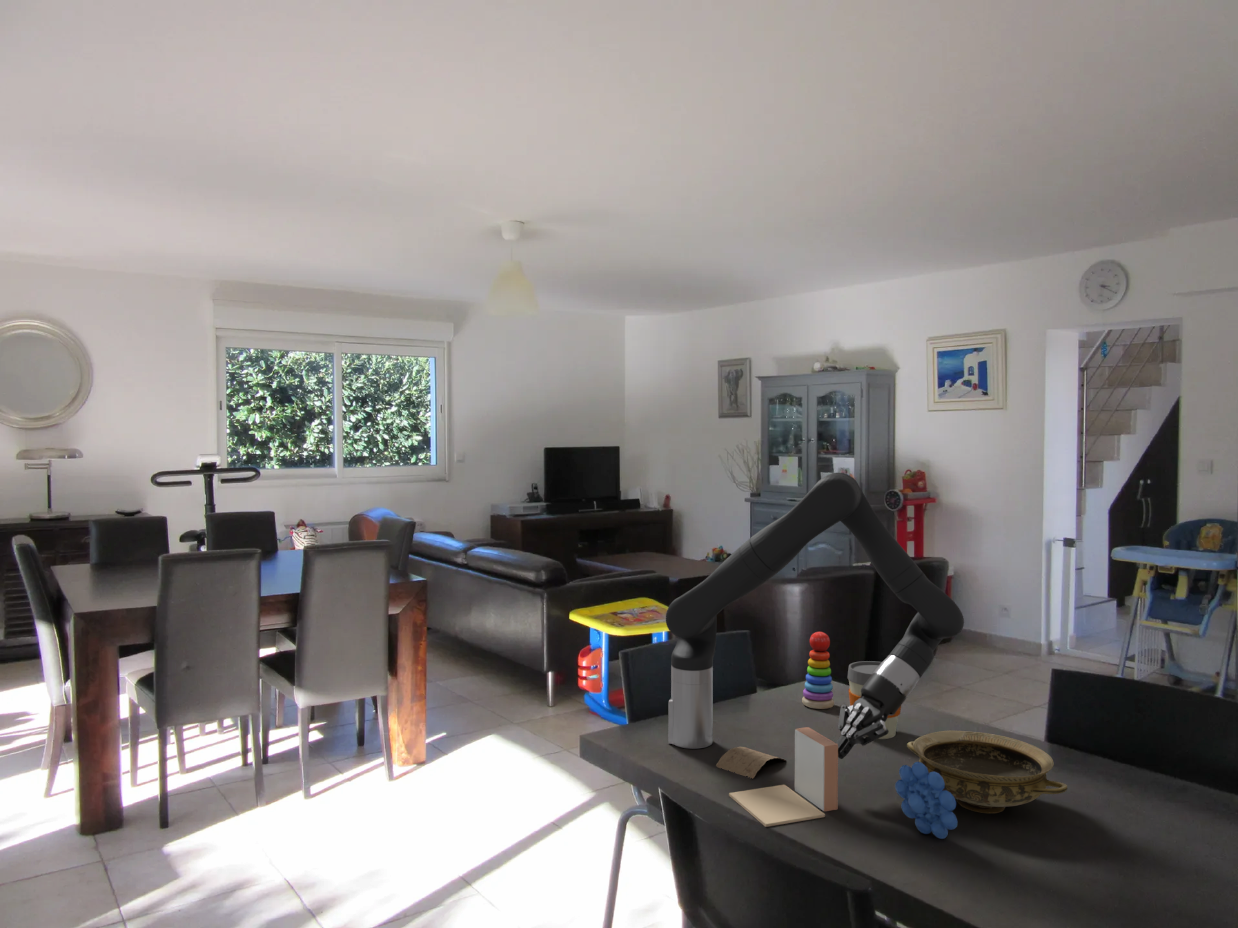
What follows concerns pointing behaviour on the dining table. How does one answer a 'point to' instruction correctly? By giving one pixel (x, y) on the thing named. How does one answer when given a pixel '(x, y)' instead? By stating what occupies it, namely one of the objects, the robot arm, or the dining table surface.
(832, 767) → the tile
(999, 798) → the ceramic bowl
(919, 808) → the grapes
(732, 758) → the curved bark piece
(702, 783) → the dining table surface
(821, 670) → the stacking toy
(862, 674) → the reusable coffee cup
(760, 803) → the mat
